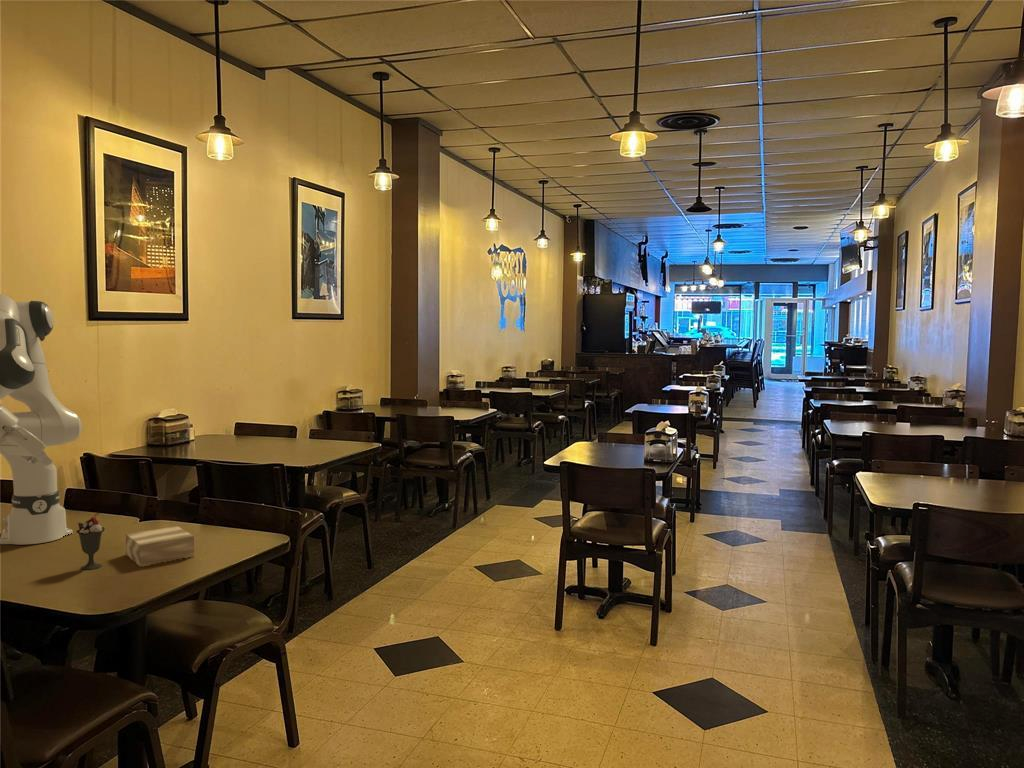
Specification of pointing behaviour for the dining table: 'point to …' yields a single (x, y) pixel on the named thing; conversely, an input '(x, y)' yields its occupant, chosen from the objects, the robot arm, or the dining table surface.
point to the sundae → (90, 540)
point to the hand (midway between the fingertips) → (42, 462)
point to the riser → (159, 545)
